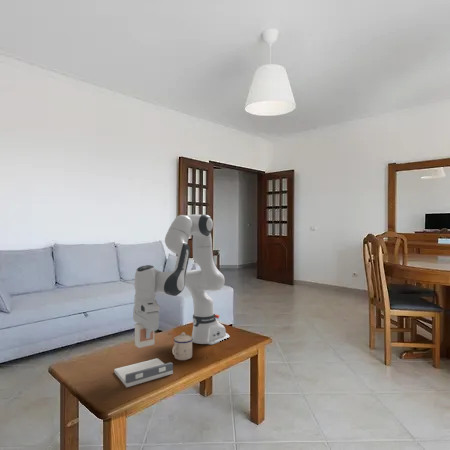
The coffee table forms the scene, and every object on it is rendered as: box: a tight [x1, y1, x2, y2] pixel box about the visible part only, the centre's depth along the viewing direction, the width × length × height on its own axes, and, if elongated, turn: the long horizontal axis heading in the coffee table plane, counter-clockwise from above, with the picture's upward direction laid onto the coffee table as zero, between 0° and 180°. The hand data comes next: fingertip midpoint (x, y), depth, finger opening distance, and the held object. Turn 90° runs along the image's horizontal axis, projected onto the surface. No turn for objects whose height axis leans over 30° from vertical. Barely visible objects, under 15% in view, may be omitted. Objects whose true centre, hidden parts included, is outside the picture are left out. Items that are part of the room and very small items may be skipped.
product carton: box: [134, 322, 155, 349], centre depth 135 cm, size 7×5×9 cm
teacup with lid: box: [171, 331, 193, 361], centre depth 153 cm, size 12×9×12 cm
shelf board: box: [114, 357, 174, 388], centre depth 136 cm, size 20×16×4 cm
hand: (144, 336), depth 135 cm, fingers closed on product carton, 5 cm apart
